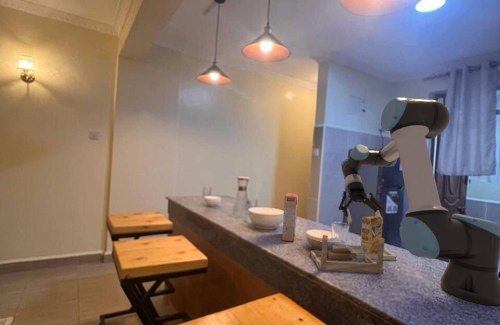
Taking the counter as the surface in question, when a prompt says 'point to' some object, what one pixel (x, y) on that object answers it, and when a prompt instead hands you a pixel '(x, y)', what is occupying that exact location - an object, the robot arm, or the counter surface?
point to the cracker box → (289, 217)
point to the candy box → (371, 234)
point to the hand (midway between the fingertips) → (365, 223)
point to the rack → (346, 254)
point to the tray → (357, 249)
